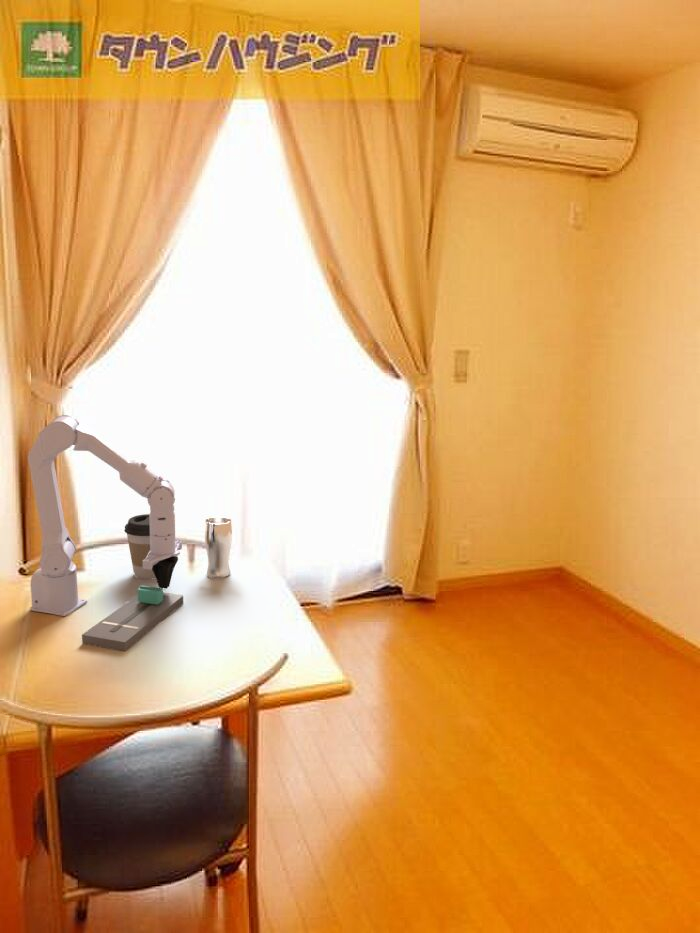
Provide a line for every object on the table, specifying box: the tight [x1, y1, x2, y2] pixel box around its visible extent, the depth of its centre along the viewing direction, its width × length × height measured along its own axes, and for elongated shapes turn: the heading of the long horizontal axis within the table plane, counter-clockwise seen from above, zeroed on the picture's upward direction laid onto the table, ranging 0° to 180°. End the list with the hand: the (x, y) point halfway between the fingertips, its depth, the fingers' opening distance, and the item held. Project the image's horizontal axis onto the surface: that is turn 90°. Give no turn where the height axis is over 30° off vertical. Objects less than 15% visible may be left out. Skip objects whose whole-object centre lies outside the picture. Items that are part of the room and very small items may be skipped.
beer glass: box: [204, 515, 233, 579], centre depth 172 cm, size 7×7×15 cm
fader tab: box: [137, 585, 164, 605], centre depth 150 cm, size 5×2×3 cm, turn 76°
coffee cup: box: [123, 513, 156, 580], centre depth 170 cm, size 11×11×15 cm
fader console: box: [81, 591, 184, 652], centre depth 145 cm, size 10×24×2 cm, turn 166°
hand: (163, 587), depth 156 cm, fingers closed
